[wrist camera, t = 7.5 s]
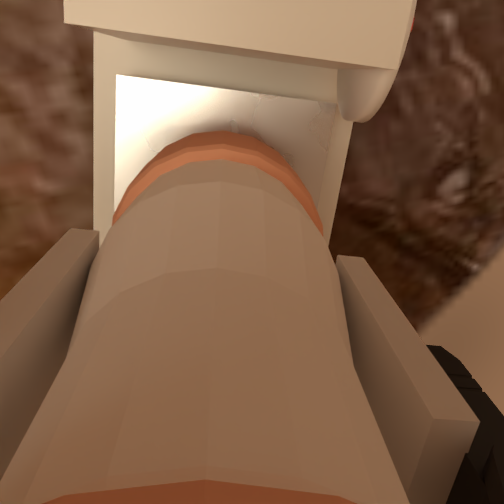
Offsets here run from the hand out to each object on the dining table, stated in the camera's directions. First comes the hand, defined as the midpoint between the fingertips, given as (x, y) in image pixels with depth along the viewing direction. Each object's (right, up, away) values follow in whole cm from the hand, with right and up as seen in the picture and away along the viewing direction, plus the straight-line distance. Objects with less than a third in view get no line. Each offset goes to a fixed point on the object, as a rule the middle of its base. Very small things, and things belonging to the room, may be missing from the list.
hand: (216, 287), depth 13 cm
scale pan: (-1, +4, +10) cm, 11 cm away
